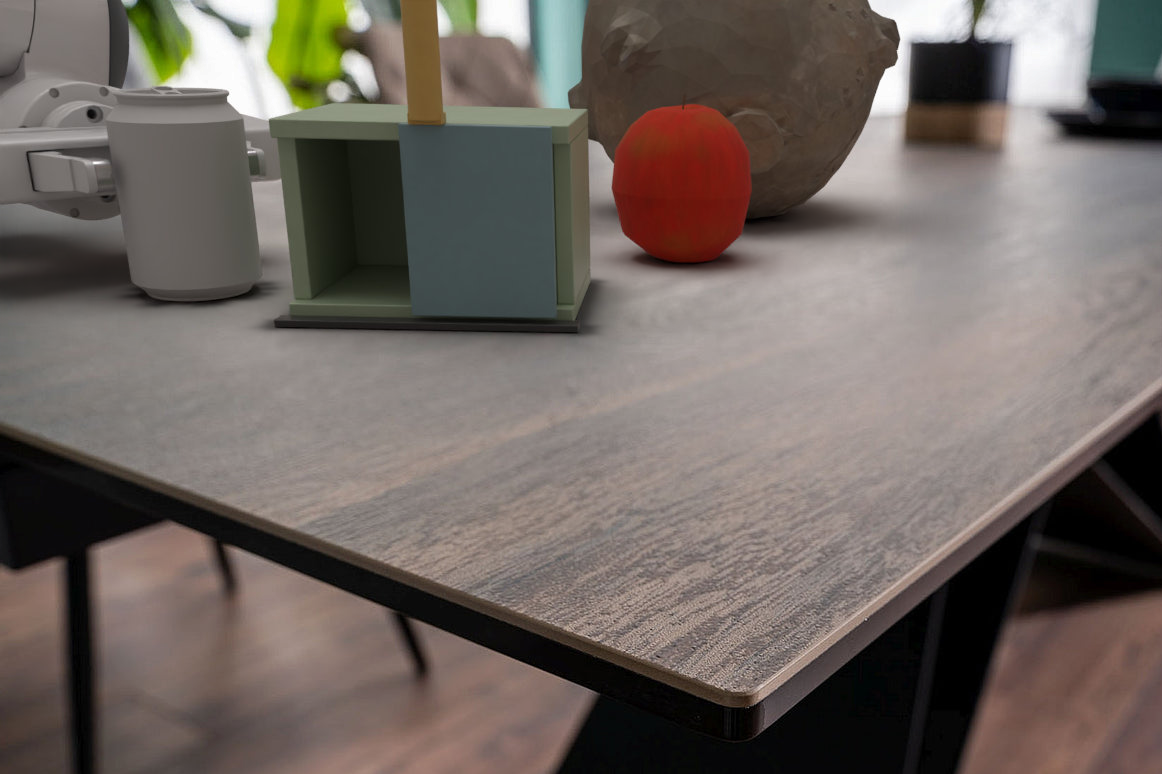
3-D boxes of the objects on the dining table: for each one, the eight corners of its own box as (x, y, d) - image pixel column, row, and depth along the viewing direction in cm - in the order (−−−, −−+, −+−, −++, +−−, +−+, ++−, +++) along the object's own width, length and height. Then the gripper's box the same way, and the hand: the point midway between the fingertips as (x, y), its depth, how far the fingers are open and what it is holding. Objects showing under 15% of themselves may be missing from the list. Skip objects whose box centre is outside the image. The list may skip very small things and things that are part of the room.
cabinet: (274, 327, 66) (250, 120, 62) (342, 277, 78) (325, 102, 74) (577, 332, 66) (573, 128, 62) (596, 282, 79) (594, 109, 75)
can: (167, 310, 69) (134, 93, 64) (112, 290, 73) (77, 85, 69) (287, 291, 74) (264, 89, 69) (229, 273, 78) (203, 82, 74)
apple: (664, 240, 94) (665, 87, 90) (775, 255, 89) (782, 94, 85) (585, 260, 86) (582, 92, 82) (703, 277, 81) (706, 100, 77)
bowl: (882, 247, 94) (902, -30, 86) (532, 229, 97) (523, -37, 90) (890, 198, 119) (906, -19, 111) (612, 186, 122) (609, -25, 115)
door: (408, 319, 65) (377, -93, 58) (415, 312, 67) (386, -90, 59) (554, 322, 65) (542, -89, 58) (557, 314, 67) (546, -86, 60)
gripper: (-114, 106, 70) (-20, 123, 62) (215, 95, 85) (326, 108, 77) (-90, 214, 72) (3, 245, 64) (226, 186, 87) (335, 208, 79)
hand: (182, 170), depth 70 cm, fingers open, 8 cm apart
